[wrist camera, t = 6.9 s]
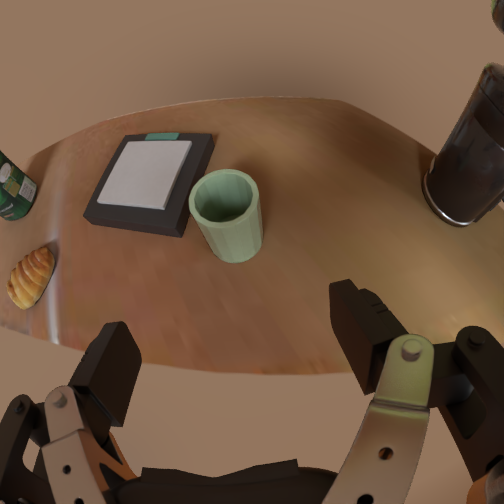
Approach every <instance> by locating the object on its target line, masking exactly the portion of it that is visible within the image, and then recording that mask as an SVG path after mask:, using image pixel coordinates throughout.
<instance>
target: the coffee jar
mask: <svg viewBox="0 0 504 504" xmlns="http://www.w3.org/2000/svg"><path fill="white" fill-rule="evenodd" d="M36 190H37V185H36V183H35V182H34V181H33V180H31V179H30V178H29V177H28V176H27V175H26V174H25V173H24V172H22V171H21V170H20V169H19V168H18V167H17V166H16V165H15V164H14V163H12V162H11V161H10V160H9V159H8V158H7V157H6V156H5V155H4V154H3V153H2V152H1V151H0V216H1V217H3V218H4V219H5V220H9V221H11V220H16V219H19V218H22V217H23V216H25V215H26V213H27V212H28V210H29V208H30V207H31V206H32V204H33V201H34V199H35V196H36Z"/></svg>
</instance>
